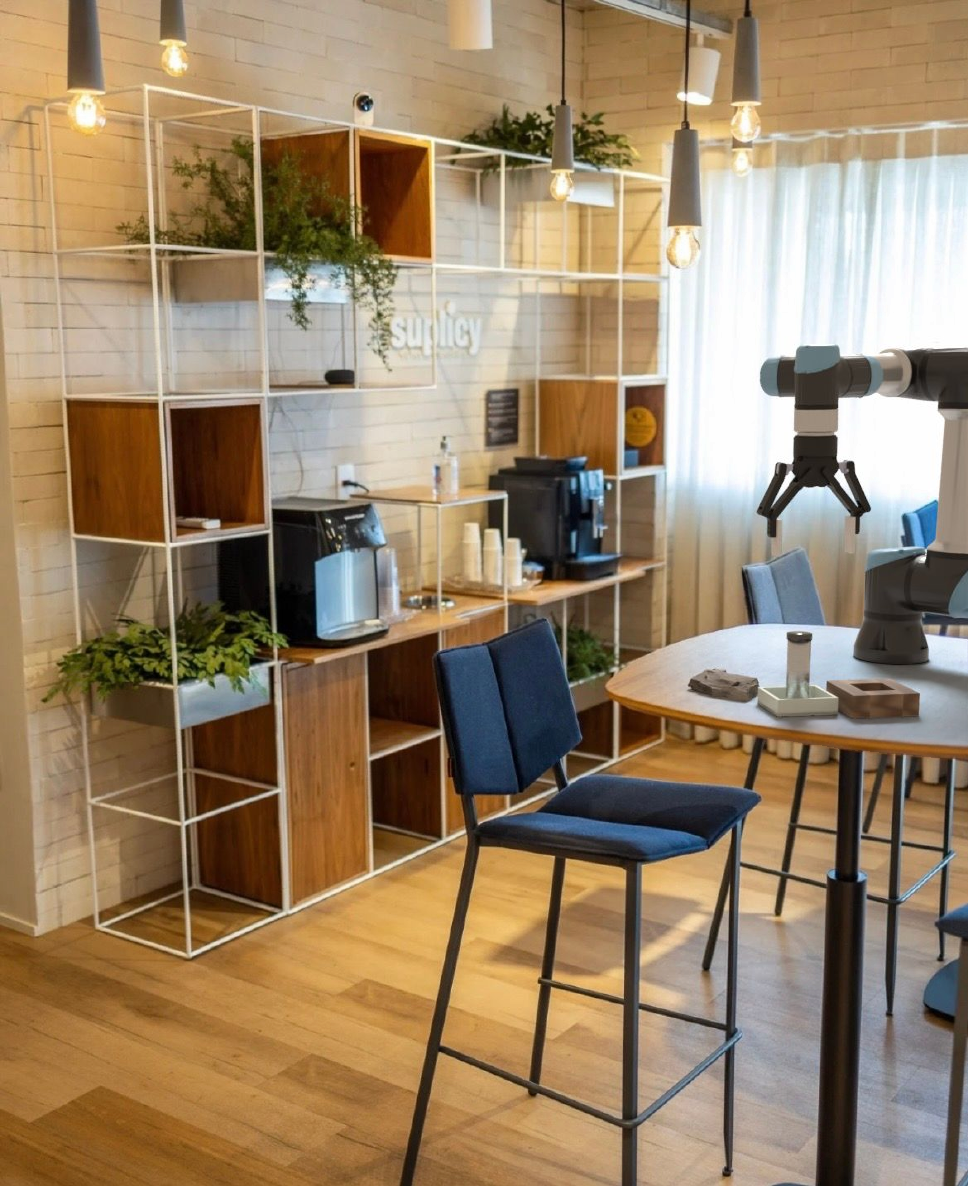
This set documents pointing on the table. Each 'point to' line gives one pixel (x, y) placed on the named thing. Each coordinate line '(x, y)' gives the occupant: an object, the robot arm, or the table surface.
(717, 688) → the rock
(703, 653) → the table surface
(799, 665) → the capped bottle
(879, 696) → the bore block
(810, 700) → the tray
